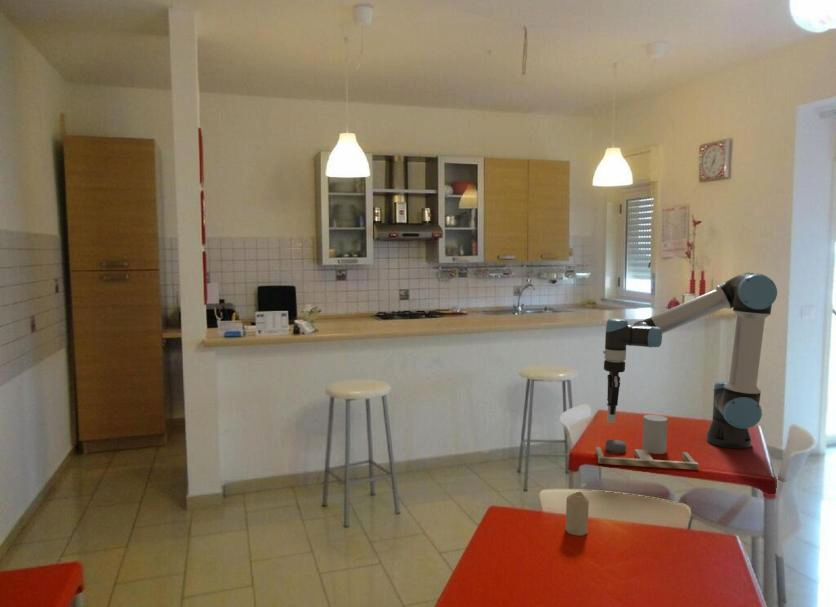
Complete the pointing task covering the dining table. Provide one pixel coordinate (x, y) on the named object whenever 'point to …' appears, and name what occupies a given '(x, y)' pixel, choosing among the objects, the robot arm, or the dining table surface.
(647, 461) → the slot rack
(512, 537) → the dining table surface
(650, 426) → the grey cylinder
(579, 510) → the candle
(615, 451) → the puck
